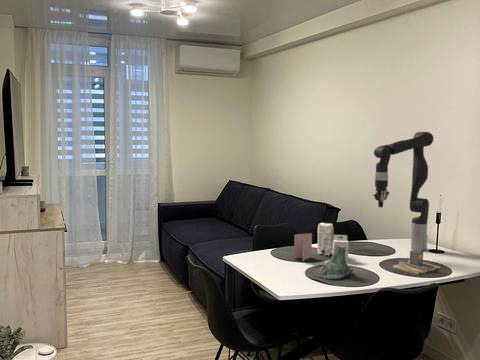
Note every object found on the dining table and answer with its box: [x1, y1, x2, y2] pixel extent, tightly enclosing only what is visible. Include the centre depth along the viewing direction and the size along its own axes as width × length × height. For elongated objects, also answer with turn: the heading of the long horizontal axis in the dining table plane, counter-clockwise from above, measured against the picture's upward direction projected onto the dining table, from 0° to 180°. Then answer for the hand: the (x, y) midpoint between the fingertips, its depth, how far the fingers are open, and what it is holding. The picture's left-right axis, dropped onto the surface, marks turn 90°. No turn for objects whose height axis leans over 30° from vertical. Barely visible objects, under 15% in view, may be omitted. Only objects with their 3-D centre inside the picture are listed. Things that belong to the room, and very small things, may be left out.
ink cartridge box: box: [332, 234, 350, 262], centre depth 272 cm, size 9×5×15 cm, turn 84°
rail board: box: [392, 258, 441, 276], centre depth 256 cm, size 20×16×2 cm
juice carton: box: [316, 222, 334, 257], centre depth 285 cm, size 8×9×19 cm
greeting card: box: [293, 232, 313, 262], centre depth 272 cm, size 11×7×15 cm, turn 108°
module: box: [409, 249, 424, 267], centre depth 255 cm, size 5×5×8 cm
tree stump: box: [315, 245, 354, 279], centre depth 245 cm, size 18×20×18 cm
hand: (380, 207), depth 285 cm, fingers closed
